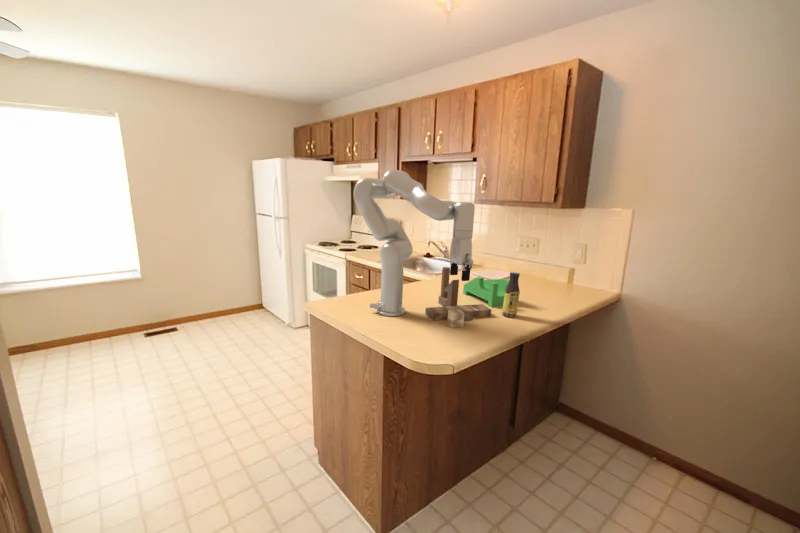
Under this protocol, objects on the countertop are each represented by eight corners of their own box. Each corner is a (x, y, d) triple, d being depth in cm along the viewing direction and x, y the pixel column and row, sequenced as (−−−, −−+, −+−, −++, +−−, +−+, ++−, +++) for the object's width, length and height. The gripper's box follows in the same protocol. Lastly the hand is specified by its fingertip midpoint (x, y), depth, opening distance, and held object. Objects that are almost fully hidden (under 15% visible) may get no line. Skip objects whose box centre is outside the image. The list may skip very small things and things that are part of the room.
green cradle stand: (513, 305, 175) (515, 282, 173) (491, 308, 170) (493, 283, 167) (483, 292, 197) (485, 271, 194) (462, 294, 191) (464, 272, 189)
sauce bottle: (508, 318, 155) (513, 274, 151) (498, 314, 160) (503, 271, 156) (519, 317, 158) (525, 273, 154) (509, 312, 163) (514, 270, 159)
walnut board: (432, 320, 148) (433, 313, 148) (425, 314, 156) (425, 307, 155) (490, 316, 157) (491, 309, 156) (481, 310, 164) (481, 303, 164)
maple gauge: (452, 328, 141) (453, 313, 140) (447, 324, 145) (448, 310, 144) (474, 326, 144) (475, 312, 143) (468, 322, 148) (470, 308, 147)
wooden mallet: (450, 309, 163) (453, 271, 160) (438, 303, 173) (440, 267, 169) (457, 309, 165) (460, 271, 161) (444, 302, 174) (447, 266, 171)
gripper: (444, 232, 143) (441, 273, 147) (464, 237, 127) (461, 283, 131) (460, 232, 146) (457, 272, 149) (483, 237, 130) (479, 282, 133)
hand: (459, 277), depth 140 cm, fingers open, 9 cm apart
